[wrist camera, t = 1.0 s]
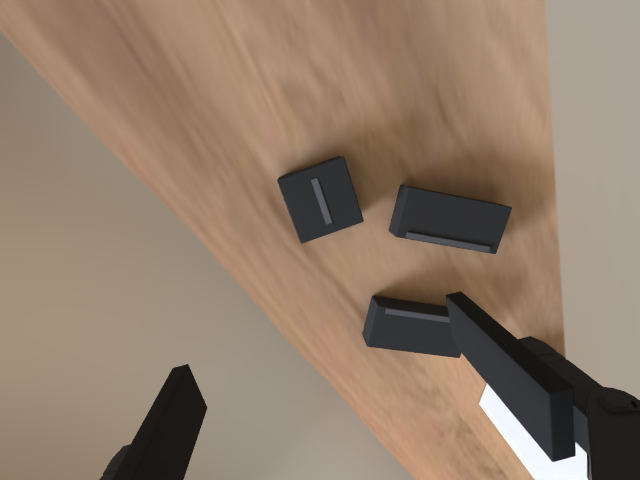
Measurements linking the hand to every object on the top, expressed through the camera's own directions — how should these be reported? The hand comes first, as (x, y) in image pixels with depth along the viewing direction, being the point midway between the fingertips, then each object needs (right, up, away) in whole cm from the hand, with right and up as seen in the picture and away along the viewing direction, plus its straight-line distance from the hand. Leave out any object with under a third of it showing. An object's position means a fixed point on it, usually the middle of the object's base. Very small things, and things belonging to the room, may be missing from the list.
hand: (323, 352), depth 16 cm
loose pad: (0, +10, +17) cm, 19 cm away
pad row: (+12, +2, +20) cm, 23 cm away
